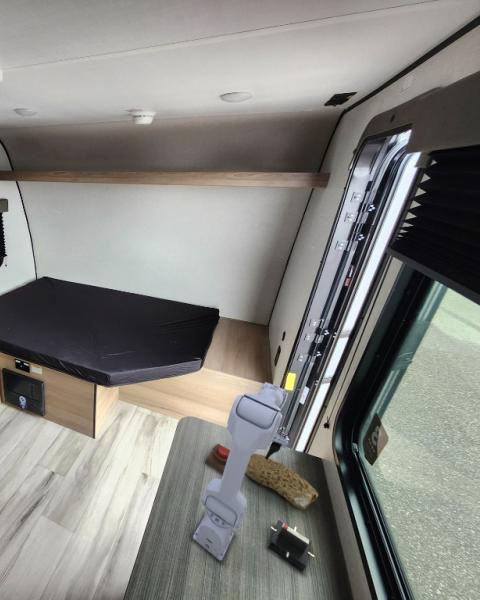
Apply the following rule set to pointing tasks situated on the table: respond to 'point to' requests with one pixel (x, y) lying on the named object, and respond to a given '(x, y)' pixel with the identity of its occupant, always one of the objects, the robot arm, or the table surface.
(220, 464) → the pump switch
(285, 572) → the table surface
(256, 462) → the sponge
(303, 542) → the tap handle
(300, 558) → the panel
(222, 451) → the pump button
